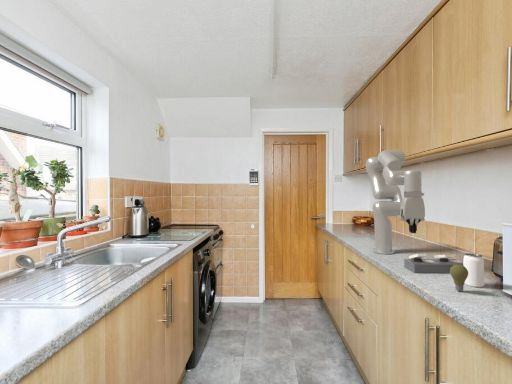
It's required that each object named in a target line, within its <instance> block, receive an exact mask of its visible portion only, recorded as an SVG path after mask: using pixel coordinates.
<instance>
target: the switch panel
mask: <svg viewBox="0 0 512 384" xmlns="http://www.w3.org/2000/svg"><path fill="white" fill-rule="evenodd" d="M403 262H404V263H403V264H404V265H403V266H404V267H403V268H405V269H406V270H409V271H410V272H411V273H413V274H450V268H451V267H452V266H453V265H456V264H459V265H463V261H461V260H459V259H456V258H413V259H409V258H404V259H403Z"/></svg>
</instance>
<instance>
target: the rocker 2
mask: <svg viewBox="0 0 512 384" xmlns="http://www.w3.org/2000/svg"><path fill="white" fill-rule="evenodd" d="M433 257H434V258H433V259H440V258H448V259H452V258H455V254H434V255H433Z"/></svg>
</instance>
